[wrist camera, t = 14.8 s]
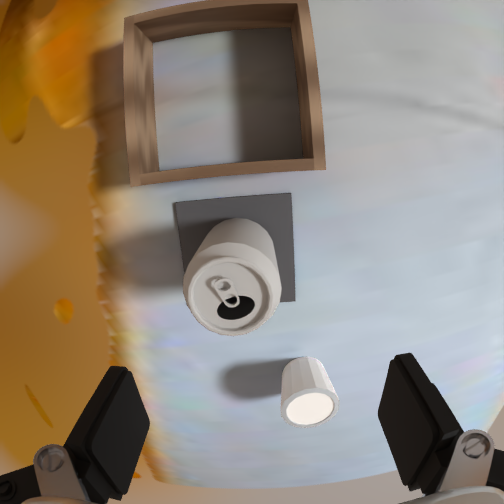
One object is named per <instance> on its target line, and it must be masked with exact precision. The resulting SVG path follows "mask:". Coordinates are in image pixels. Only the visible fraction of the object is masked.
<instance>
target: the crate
mask: <svg viewBox="0 0 504 504" xmlns="http://www.w3.org/2000/svg"><path fill="white" fill-rule="evenodd" d="M282 27H291V34H292V42H293V51H294V59H295V69H296V78H297V88H298V99H299V110H300V122H301V135H302V149H303V159H287V160H269V161H254V162H241V163H229V164H218V165H208V166H199V167H190V168H181V169H173V170H166V171H159V161H158V149H157V137H156V122H155V106H154V84H153V43H154V42H158V41H163V40H168V39H173V38H179V37H185V36H191V35H197V34H204V33H212V32H220V31H230V30H241V29H255V28H282ZM123 80H124V111H125V129H126V143H127V155H128V166H129V176H130V185H131V187H133V186H140V185H148V184H155V183H163V182H171V181H179V180H188V179H197V178H207V177H218V176H229V175H241V174H254V173H269V172H286V171H307V170H326V161H325V145H324V131H323V118H322V107H321V96H320V86H319V77H318V68H317V60H316V52H315V44H314V37H313V30H312V23H311V17H310V11H309V5H308V0H206V1H199V2H193V3H187V4H181V5H176V6H171V7H166V8H161V9H157V10H153V11H148V12H144V13H140V14H137V15H133V16H129V17H126V18H124V46H123Z"/></svg>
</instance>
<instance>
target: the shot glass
mask: <svg viewBox="0 0 504 504" xmlns="http://www.w3.org/2000/svg"><path fill="white" fill-rule="evenodd" d="M339 403H340V401H339V398H338V396H337V394H336V392H335V390H334V388H333V386H332V383H331V381H330V379H329V377H328V375H327V373H326V371H325V368H324V367H323V365H322V363H321V362H320V361H319V360H317V359H316V358H312V357H299V358H296V359H294V360H292V361H290V362H289V363H288V364H287V365H286V366H285V367H284V370H283V372H282V388H281V417H282V418H283V419H284V421H285V422H286V423H288V424H290V425H292V426H294V427H300V428H309V427H316V426H319V425H321V424H324V423H326V422H327V421H329V420H330V419H331V418H333V417H334V416H335V414H336V413H337V411H338V410H339Z"/></svg>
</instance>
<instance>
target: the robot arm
mask: <svg viewBox="0 0 504 504" xmlns="http://www.w3.org/2000/svg"><path fill="white" fill-rule="evenodd" d="M378 418H379V421H380V423H381V426H382V428H383V431H384V434H385V436H386V439H387V442H388V444H389V447H390V450H391V452H392V455H393V458H394V461H395V463H396V466H397V469H398V472H399V474H400V477H401V480H402V483H403V485H405V486H406V485H408V488H409V490H410V491H413V490H416V489H420V488H421V491H422V493H423V496H422V497H421V498H417V499H414V500H411V501H407V502H403V503H400V504H504V451H501V450H497V449H494V442H493V439H492V438H491V436H490V435H489V434H487V433H486V432H484V431H481V430H475V429H474V430H468V431H466V432H464V431H463V430H462V428H461V426H460V425H459V423H458V421H457V420H456V418H455V416H454V415H453V413H452V411H451V410H450V408H449V406H448V405H447V403H446V402H445V400H444V398H443V397H442V395H441V394H440V392H439V391H438V389H437V387H436V386H435V385H434V384H433V383H431V382H430V380H429V379H428V377H427V376H426V374H425V373H424V371H423V369H422V368H421V366H420V365H419V363H418V362H417V360H416V359H415V357H414V356H413V354H412V353H405V354H400V355H396V356H395V358H394V359H393V360H391V361H390V364H389V369H388V373H387V378H386V382H385V386H384V390H383V394H382V398H381V401H380V405H379V409H378ZM149 426H150V421H149V418H148V415H147V412H146V410H145V407H144V405H143V402H142V400H141V397H140V394H139V391H138V389H137V386H136V383H135V380H134V377H133V375H132V372H131V371H128V369H127V368H126V367H120V366H110V368H109V369H108V371H107V372H106V374H105V376H104V377H103V379H102V380H101V382H100V384H99V385H98V387H97V389H96V390H95V393H94V394H93V396H92V397H91V399H90V400H89V402H88V404H87V405H86V407H85V409H84V410H83V412H82V414H81V416H80V417H79V419H78V421H77V422H76V424H75V426H74V428H73V430H72V431H71V433H70V435H69V437H68V438H67V440H66V442H65V444H64V446H63V447H62V446H60V445H56V444H50V445H46V446H44V447H42V448H40V449H39V450H38V451H37V453H36V454H35V456H34V459H33V463H34V464H33V465H30V466H28V467H25V468H22V469H19V470H16V471H13V472H10V473H7V474H4V475H1V476H0V504H107V502H108V499H109V498H112V499H116V500H120V501H121V499H122V495H123V494H124V495H125V494H126V493H127V492H128V488H129V486H130V483H131V479H132V477H133V474H134V471H135V467H136V464H137V462H138V459H139V456H140V453H141V450H142V447H143V444H144V441H145V438H146V435H147V433H148V430H149Z"/></svg>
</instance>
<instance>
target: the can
mask: <svg viewBox="0 0 504 504" xmlns="http://www.w3.org/2000/svg"><path fill="white" fill-rule="evenodd" d="M281 290H282V287H281V282H280V276H279V271H278V266H277V260H276V255H275V250H274V245H273V241H272V239H271V237H270V236H269V234H268V232H267V231H266V230H265V229H264V228H263V227H262V226H260V225H259V224H258V223H256V222H253V221H251V220H249V219H243V218H233V219H228V220H224V221H222V222H221V223H219V224H217V225H216V226H214V227H213V229H212V230H211V231H210V232H209V233H208V234H207V236H206V237H205V239H204V241H203V242H202V244H201V245H200V247H199V249H198V250H197V252H196V253H195V255H194V257H193V258H192V260H191V261H190V263H189V265H188V267H187V270H186V272H185V275H184V278H183V294H184V297H185V300H186V303H187V306H188V307H189V309H190V310H191V313H192V314H193V315H194V317H195V318H196V320H197V321H198V322H199V323H200V324H202V325H203V326H204V327H205V328H207V329H208V330H210V331H213V332H215V333H218V334H220V335H228V336H237V335H243V334H247V333H249V332H251V331H253V330H256V329H258V328H259V327H260V326H261V325H263V324H264V323H265V322H266V321H267V320H268V319H269V318H270V317H271V316H272V315H273V314H274V312H275V310H276V308H277V306H278V304H279V302H280V296H281Z"/></svg>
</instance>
